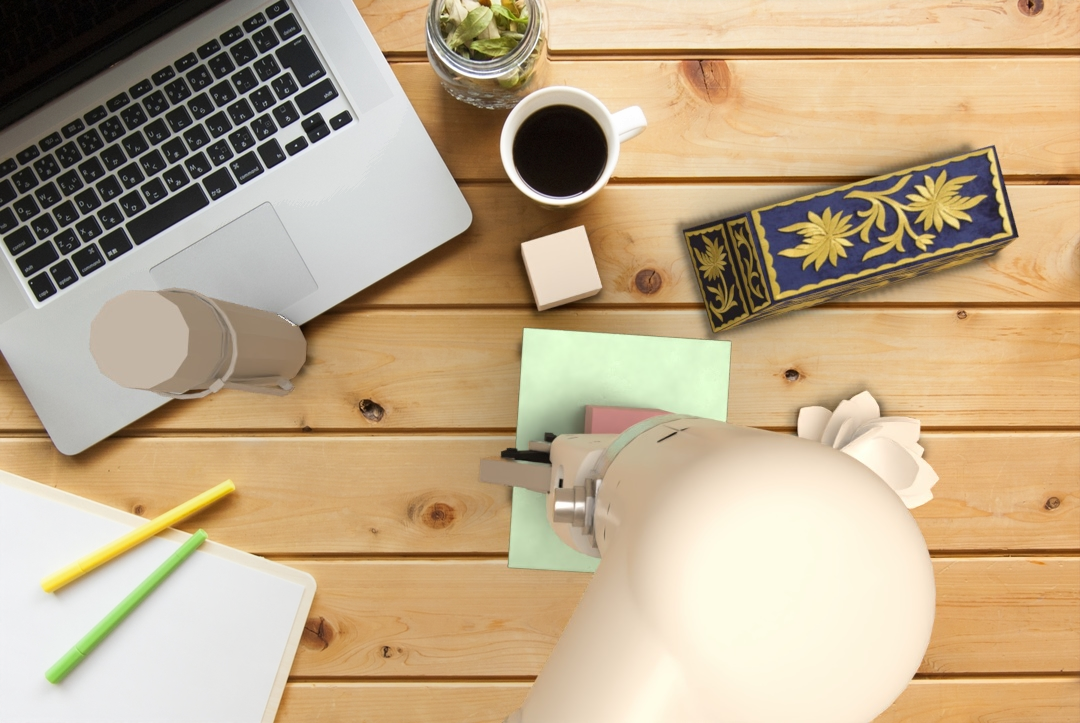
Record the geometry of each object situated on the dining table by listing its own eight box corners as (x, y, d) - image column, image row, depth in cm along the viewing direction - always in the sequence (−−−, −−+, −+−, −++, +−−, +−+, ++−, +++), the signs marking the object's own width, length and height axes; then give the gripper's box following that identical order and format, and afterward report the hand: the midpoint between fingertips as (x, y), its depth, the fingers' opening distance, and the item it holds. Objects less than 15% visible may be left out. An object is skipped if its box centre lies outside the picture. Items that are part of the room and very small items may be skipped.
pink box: (655, 499, 49) (669, 513, 44) (580, 494, 49) (586, 508, 44) (660, 409, 49) (676, 413, 44) (586, 404, 49) (592, 408, 44)
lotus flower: (767, 398, 73) (811, 397, 64) (905, 387, 75) (966, 384, 66) (780, 543, 72) (827, 562, 63) (920, 528, 74) (983, 544, 65)
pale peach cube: (538, 311, 73) (539, 306, 67) (521, 254, 73) (520, 243, 67) (596, 294, 73) (602, 287, 67) (579, 237, 73) (583, 224, 67)
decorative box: (682, 230, 73) (704, 210, 64) (968, 152, 74) (1029, 121, 65) (711, 334, 73) (737, 328, 64) (997, 255, 74) (1062, 239, 65)
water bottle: (218, 348, 72) (55, 335, 47) (278, 295, 72) (148, 254, 47) (280, 418, 72) (150, 442, 47) (340, 365, 72) (242, 361, 47)
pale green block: (654, 512, 73) (717, 580, 49) (513, 503, 72) (507, 568, 48) (664, 351, 73) (732, 340, 49) (524, 342, 73) (523, 327, 49)
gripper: (458, 593, 29) (483, 514, 46) (896, 619, 29) (758, 530, 46) (471, 401, 29) (491, 394, 46) (905, 429, 29) (764, 411, 46)
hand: (624, 462), depth 46 cm, fingers open, 9 cm apart
